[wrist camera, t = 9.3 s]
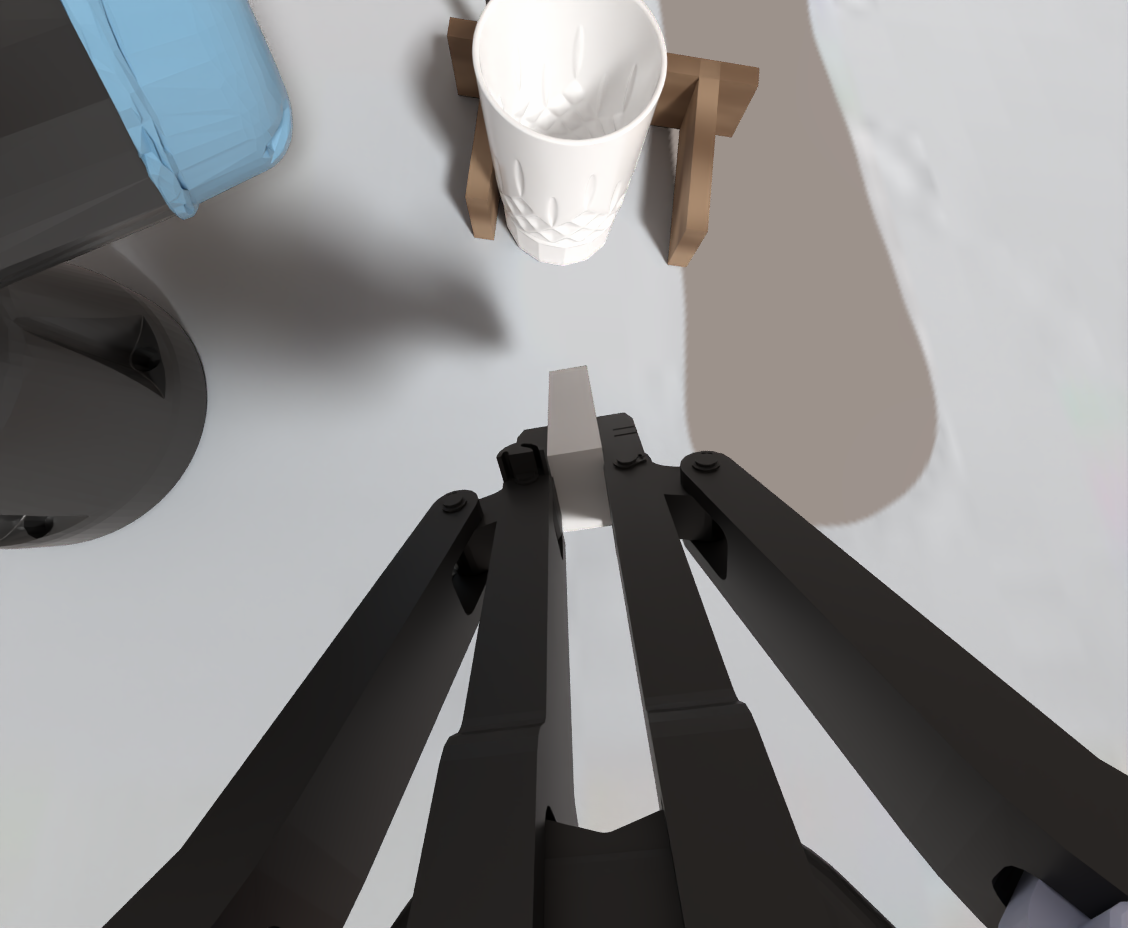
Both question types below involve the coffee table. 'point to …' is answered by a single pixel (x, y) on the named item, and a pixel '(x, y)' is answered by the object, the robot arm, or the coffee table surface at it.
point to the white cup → (566, 114)
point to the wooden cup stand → (687, 102)
